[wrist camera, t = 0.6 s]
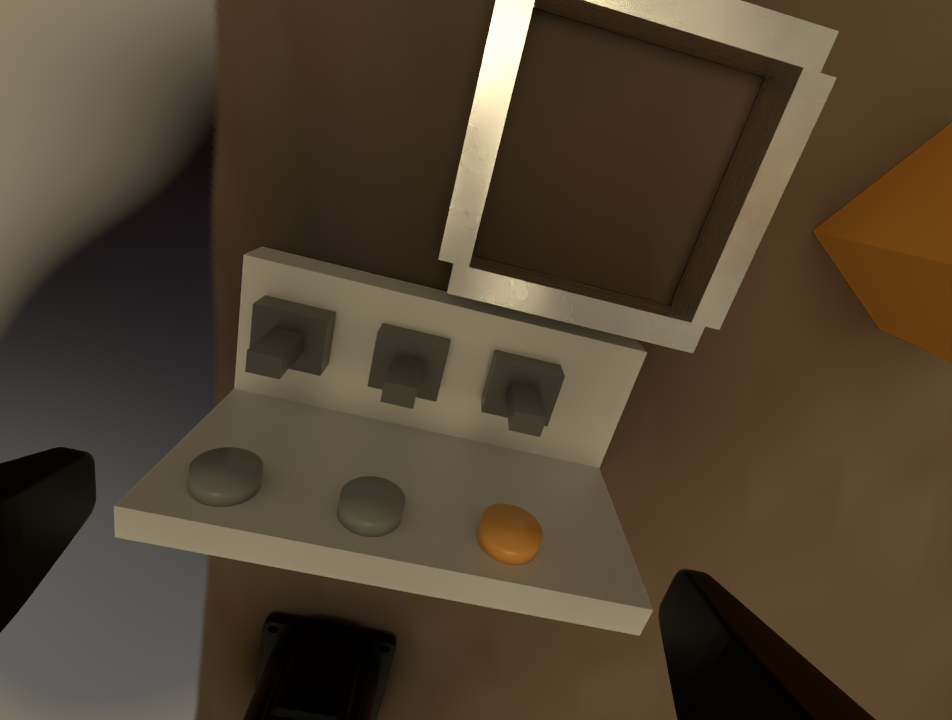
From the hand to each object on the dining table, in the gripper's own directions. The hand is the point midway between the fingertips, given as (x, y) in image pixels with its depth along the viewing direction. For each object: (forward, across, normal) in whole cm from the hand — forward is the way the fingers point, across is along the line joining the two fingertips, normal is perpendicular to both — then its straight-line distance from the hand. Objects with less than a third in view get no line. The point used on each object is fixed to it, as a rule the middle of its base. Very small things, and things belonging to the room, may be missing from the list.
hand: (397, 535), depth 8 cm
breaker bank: (+12, 0, +2) cm, 12 cm away
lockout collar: (+12, -4, -6) cm, 14 cm away
